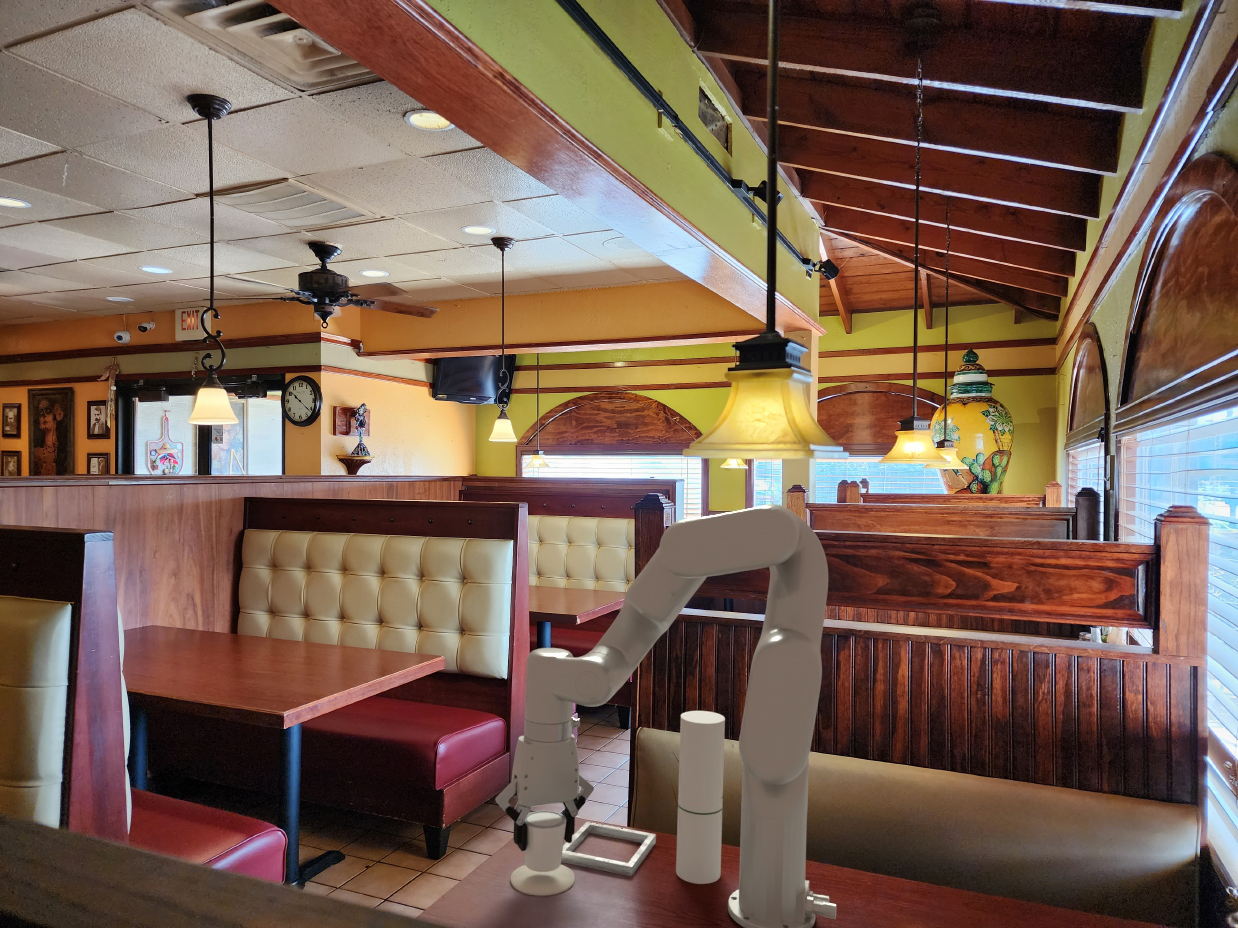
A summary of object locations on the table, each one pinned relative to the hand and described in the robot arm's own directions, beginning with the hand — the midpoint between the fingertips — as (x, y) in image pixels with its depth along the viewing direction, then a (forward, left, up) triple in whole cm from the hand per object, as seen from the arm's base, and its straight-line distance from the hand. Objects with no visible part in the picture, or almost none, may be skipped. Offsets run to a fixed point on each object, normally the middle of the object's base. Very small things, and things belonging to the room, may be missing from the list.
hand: (543, 842), depth 126 cm
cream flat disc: (0, 0, -6) cm, 6 cm away
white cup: (0, 0, -3) cm, 3 cm away
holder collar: (-6, -13, -6) cm, 15 cm away
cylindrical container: (-22, -12, -6) cm, 26 cm away
